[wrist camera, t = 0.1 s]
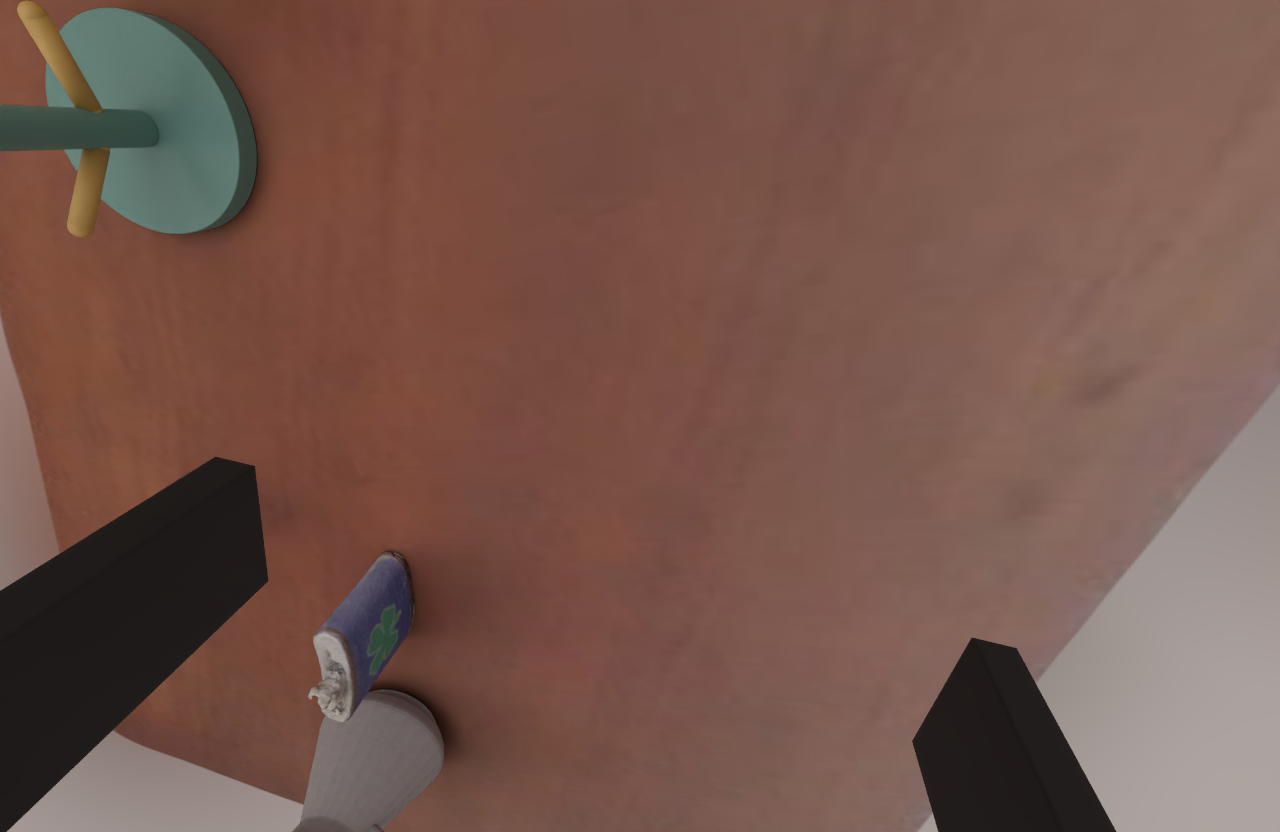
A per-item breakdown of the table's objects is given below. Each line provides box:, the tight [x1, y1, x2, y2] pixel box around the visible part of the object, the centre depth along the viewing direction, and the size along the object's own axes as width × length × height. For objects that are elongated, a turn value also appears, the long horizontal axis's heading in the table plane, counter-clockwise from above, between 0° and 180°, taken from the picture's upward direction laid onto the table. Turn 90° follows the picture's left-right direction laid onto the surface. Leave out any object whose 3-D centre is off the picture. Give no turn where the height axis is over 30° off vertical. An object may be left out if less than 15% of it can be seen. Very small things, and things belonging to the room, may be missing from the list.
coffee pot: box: [293, 689, 444, 832], centre depth 50 cm, size 21×12×15 cm, turn 85°
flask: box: [308, 552, 415, 722], centre depth 46 cm, size 9×3×11 cm, turn 172°
